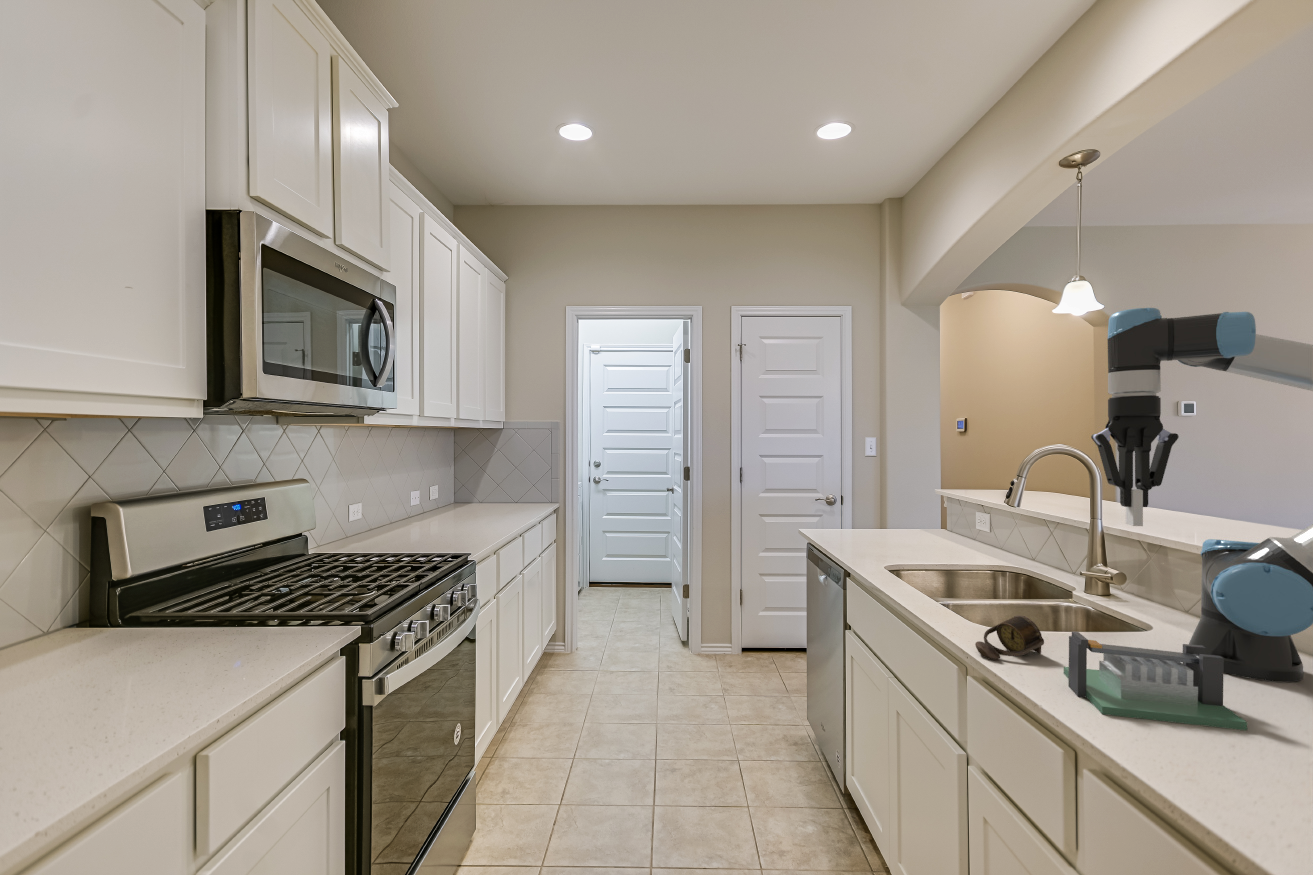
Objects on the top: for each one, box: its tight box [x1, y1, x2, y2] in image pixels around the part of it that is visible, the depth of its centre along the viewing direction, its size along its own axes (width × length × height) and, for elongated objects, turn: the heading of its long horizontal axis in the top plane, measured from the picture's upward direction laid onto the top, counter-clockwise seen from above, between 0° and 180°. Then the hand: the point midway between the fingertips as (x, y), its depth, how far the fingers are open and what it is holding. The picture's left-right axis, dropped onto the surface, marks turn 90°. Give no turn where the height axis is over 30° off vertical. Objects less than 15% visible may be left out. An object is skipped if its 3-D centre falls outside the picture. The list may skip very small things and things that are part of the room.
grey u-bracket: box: [1181, 643, 1225, 706], centre depth 95 cm, size 3×6×7 cm, turn 164°
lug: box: [1068, 631, 1089, 698], centre depth 100 cm, size 1×4×9 cm, turn 164°
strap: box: [1087, 639, 1199, 664], centre depth 97 cm, size 16×3×1 cm, turn 74°
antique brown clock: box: [974, 614, 1045, 661], centre depth 117 cm, size 7×13×10 cm
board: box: [1063, 666, 1248, 731], centre depth 97 cm, size 18×16×1 cm
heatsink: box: [1098, 653, 1198, 706], centre depth 97 cm, size 10×8×5 cm
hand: (1134, 524), depth 110 cm, fingers closed
